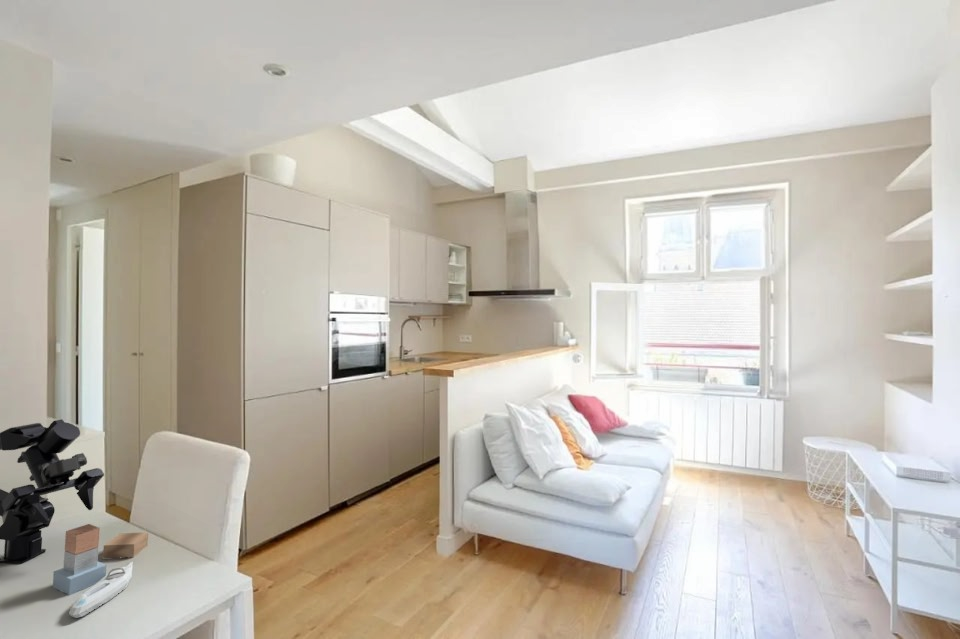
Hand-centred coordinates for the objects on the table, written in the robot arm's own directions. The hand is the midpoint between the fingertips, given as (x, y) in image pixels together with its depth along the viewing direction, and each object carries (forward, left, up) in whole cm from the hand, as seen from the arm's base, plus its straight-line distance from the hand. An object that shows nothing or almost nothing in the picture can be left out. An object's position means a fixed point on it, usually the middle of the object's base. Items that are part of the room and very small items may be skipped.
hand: (70, 515), depth 112 cm
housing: (+8, -6, -9) cm, 14 cm away
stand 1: (+8, -6, -13) cm, 16 cm away
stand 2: (+7, +9, -13) cm, 18 cm away
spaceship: (+16, -8, -14) cm, 23 cm away
